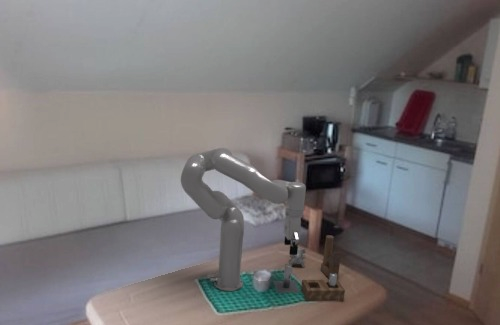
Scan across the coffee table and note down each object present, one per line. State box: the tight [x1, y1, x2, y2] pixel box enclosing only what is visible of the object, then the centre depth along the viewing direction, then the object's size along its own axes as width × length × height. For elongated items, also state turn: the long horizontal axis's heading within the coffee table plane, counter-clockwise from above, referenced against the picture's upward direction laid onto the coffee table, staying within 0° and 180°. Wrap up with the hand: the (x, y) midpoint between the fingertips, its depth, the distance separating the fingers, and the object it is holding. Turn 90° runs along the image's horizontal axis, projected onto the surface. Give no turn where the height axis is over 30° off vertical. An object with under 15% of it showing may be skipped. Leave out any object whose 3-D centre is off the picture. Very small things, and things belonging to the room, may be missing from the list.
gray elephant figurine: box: [288, 247, 306, 269], centre depth 216 cm, size 9×12×8 cm
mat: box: [272, 280, 301, 294], centre depth 193 cm, size 10×10×1 cm
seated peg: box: [328, 273, 337, 288], centre depth 188 cm, size 3×3×10 cm
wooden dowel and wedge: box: [320, 234, 342, 281], centre depth 205 cm, size 4×11×18 cm, turn 18°
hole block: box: [300, 279, 346, 302], centre depth 188 cm, size 16×9×5 cm, turn 98°
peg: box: [282, 263, 293, 288], centre depth 192 cm, size 3×3×10 cm
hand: (290, 249), depth 189 cm, fingers open, 9 cm apart
